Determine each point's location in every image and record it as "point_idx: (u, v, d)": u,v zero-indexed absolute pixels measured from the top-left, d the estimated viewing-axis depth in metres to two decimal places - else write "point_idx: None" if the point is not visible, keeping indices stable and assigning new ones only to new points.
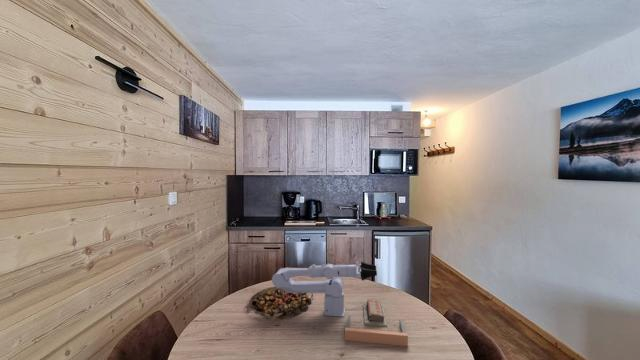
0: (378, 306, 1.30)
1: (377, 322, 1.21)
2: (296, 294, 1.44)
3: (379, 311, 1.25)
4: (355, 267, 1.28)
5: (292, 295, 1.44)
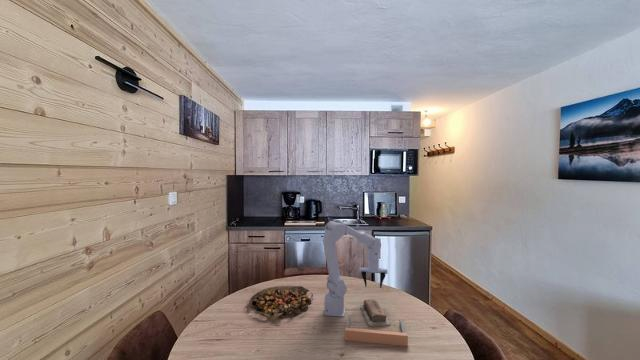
0: (377, 306, 1.30)
1: (380, 322, 1.21)
2: (296, 294, 1.44)
3: (380, 311, 1.25)
4: None
5: (292, 295, 1.44)
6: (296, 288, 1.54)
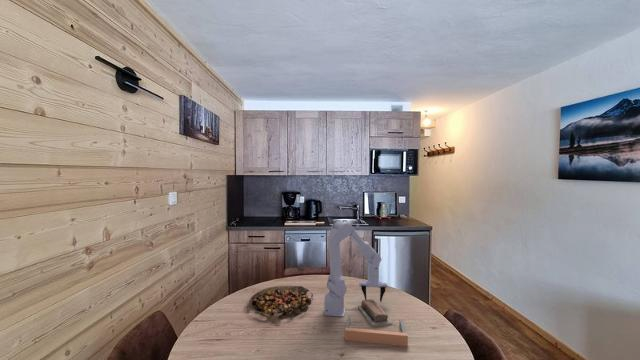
0: (377, 305, 1.30)
1: (382, 322, 1.21)
2: (296, 294, 1.44)
3: (381, 310, 1.25)
4: None
5: (292, 295, 1.44)
6: (296, 288, 1.54)
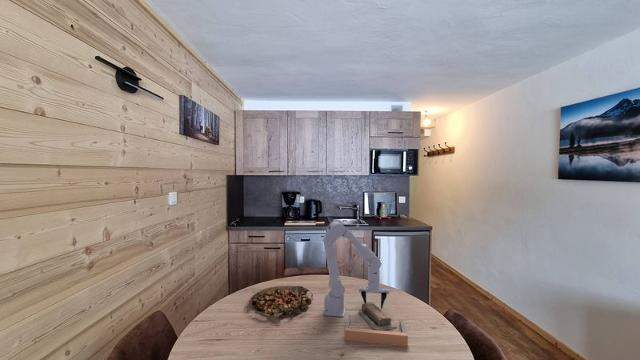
0: (378, 309, 1.27)
1: (386, 326, 1.18)
2: (296, 294, 1.44)
3: (384, 314, 1.22)
4: None
5: (292, 295, 1.44)
6: (296, 288, 1.54)
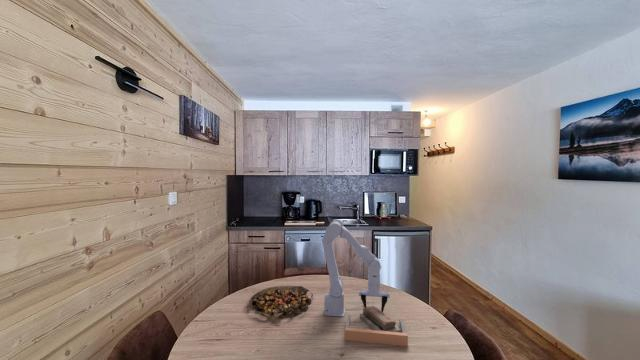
0: (381, 312, 1.23)
1: (391, 329, 1.15)
2: (296, 294, 1.44)
3: (388, 317, 1.19)
4: None
5: (292, 295, 1.44)
6: (296, 288, 1.54)
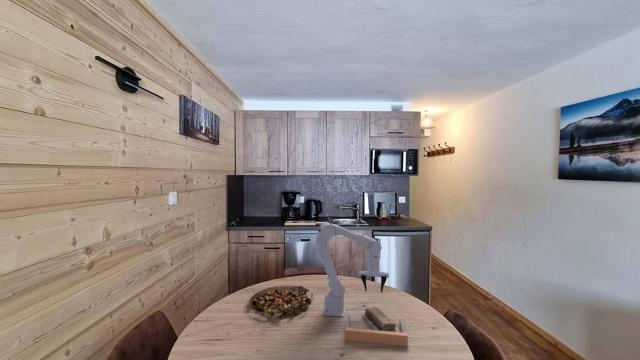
0: (382, 313, 1.22)
1: (390, 331, 1.13)
2: (296, 294, 1.44)
3: (388, 319, 1.18)
4: None
5: (292, 295, 1.44)
6: (296, 288, 1.54)
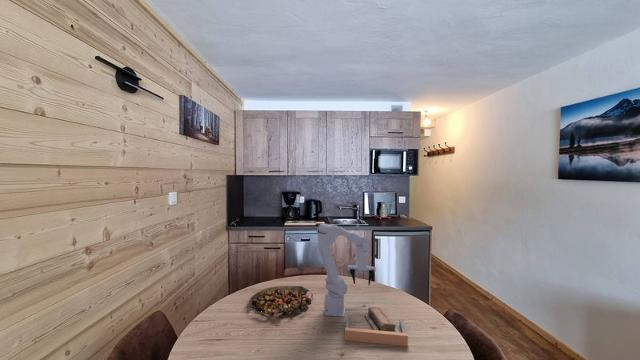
0: (384, 314, 1.22)
1: None
2: (296, 294, 1.44)
3: (388, 319, 1.17)
4: None
5: (292, 295, 1.44)
6: (296, 288, 1.54)
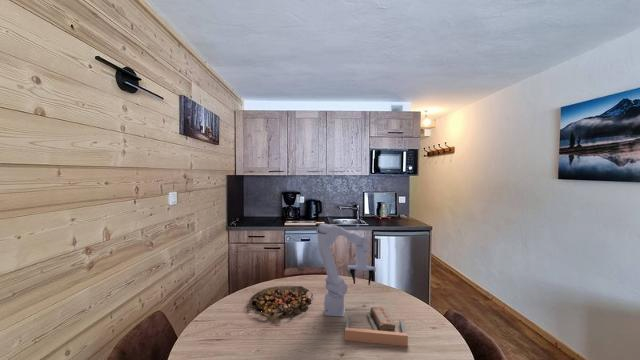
0: (385, 314, 1.22)
1: None
2: (296, 294, 1.44)
3: (389, 320, 1.17)
4: None
5: (292, 295, 1.44)
6: (296, 288, 1.54)
